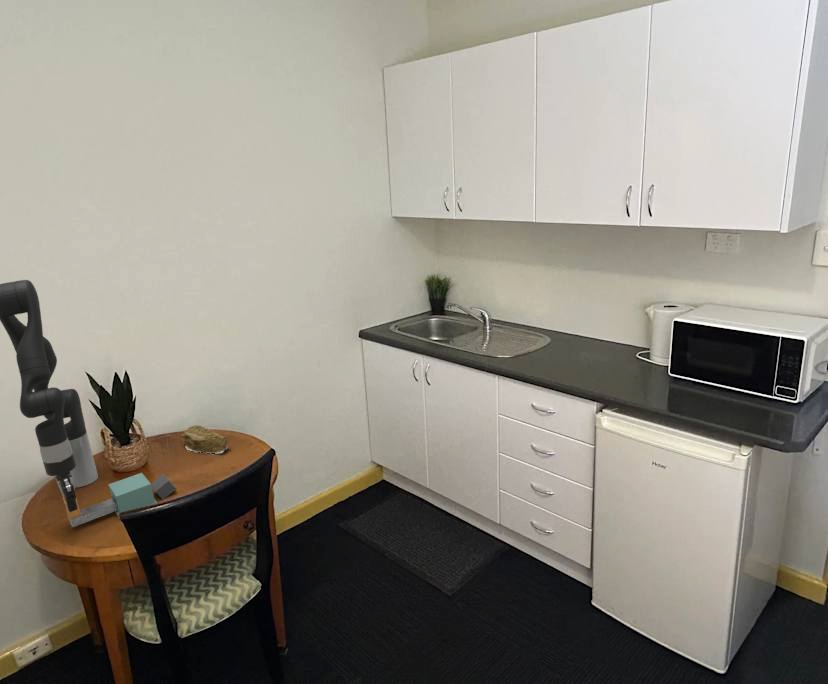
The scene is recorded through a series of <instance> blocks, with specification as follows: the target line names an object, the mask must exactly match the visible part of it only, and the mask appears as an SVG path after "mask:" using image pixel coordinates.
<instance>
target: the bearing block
mask: <svg viewBox="0 0 828 684" xmlns="http://www.w3.org/2000/svg"><path fill="white" fill-rule="evenodd" d="M151 484H152V483H151V482H150V481H149V479H147V477H146V476H145V474H143V472H140V473H137V474H135V475H132V476H128V477H126V478H123V479H121V480H117V481H114V482H111V483H108V489H109V493H110V496H111V498H114V499H115V500H116V503H117V507H118V510H117V511H114V512H115V514H116V516H118V515H119V513H121V512H124V511H128V510H132V509H136V508H139V507H145V506H149V505H152V504H158V501H157V500H156V499H155V496H154V492H153V488H152V487H151Z"/></svg>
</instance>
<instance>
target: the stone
mask: <svg viewBox="0 0 828 684" xmlns="http://www.w3.org/2000/svg"><path fill="white" fill-rule="evenodd" d="M180 439H181V440H182V441H183V443H184V444H185V449H186V450H190V451H193V452H194V453H198V452H200V454H207V453H210V454H211V453H212V452H213V453H215V454H214V455H216V454H217V455H218V454H223V453H224V451H227V449H229V447H228V446H227V444H228V441H229V439H228V437H227V436H226V435H221V434H220V433H217V432H216V431H215V430H211V429H209V428H205V427H204V426H202V425H192V426H189V427H188V428H187V429H186V430H184V431H182V432H181V434H180ZM226 446H227V447H226ZM201 452H203V453H201ZM204 452H206V453H204Z"/></svg>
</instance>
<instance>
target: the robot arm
mask: <svg viewBox="0 0 828 684" xmlns="http://www.w3.org/2000/svg"><path fill="white" fill-rule="evenodd" d="M35 287H36V286H35V285H34V284H33V282H32V281H31V280H29V279H21V280H15V281H10V282H3V283H0V323H1V325H2V326H3V328H4V329H5V331H6V333H7V335H8V338H9V339H10V341H11V343H12V346H13V348H14V351H15V354H16V357H15V358H16V363H17V367H18V372H19V376H20V380H21V383H20V384H21V388H20V390H21V391H20V398H19V409H20V412H21V414H22V415H23V416H24V417H26V418H28V419H33V418H39V417H44V418H45V419H46V420H43V421H42V422H39V423H38V424H37V425H35V427H34V428H35V429H34V431H35V435H36V439H37V442H38V446H39V453H40V457H41V460H42V464H43V466H44V470H45V474H46V476H47V475H48V476H50V477H54V478H55V482H56V484H57V486H58V489H59V491H60V493H61V495H62V494H63V495H64V497H65V500H66V502H67V506H68V509H69V511H70V512H72V511H75V510H77V509H78V508H77V504H76V500H75V499H77V496H76V493H75V490H76V488H82V487H87V486H88V485H90V484H93V483H94V482H95V481H97V480H98V478H99V475H98V470H97V466H96V463H95V460H94V459H95V458H94V455H93V452H92V447H91V443H90V440H89V436H88V432H87V429H86V422H85V418H84V414H83V409H82V404H81V403H82V402H81V399H80V395H79V393H78V391H77V390H76V389H75V388H68V389H60V388H58V387H49V383H50V380H51V378H52V376H53V374H54V372H55V370H56V367H57V362H58V358H57V356H56V355H57V354H56V353H55V351H54V348H53V346H52V343H51V342H50V340H49V339H47V338H46V337H45V336H44V332H43V331H44V330H43V323H42V316H41V315H42V314H41V306H40V300H39V295H38V292H37V289H36V288H35ZM26 313H27V322H26V325H25V324H24V323H22V322H21V321H20V320H19V318H18V317H16V316H17V315H21V314H26ZM66 418H70V420H69V421H68V422H66V423H65V422H64V420H65V419H66ZM62 488H63V489H62Z"/></svg>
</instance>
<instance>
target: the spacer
mask: <svg viewBox="0 0 828 684" xmlns="http://www.w3.org/2000/svg"><path fill="white" fill-rule="evenodd" d="M150 484H151V487H152V490H153V491H154V492H155V493H156V494H157V495H158V496H159V498H161V499H162V500H165V499H166V498H168V496H170V495H171V494H172V493H173V492H174V491H175V490H177V487H176V486H175V485H174V484H173V482H171V480H170V479H169V478H168V477H167V476H166V475H165V474H164V473H162V474H161V475H160V476H158V477H157V478H156V480H154V481H153V482H152V483H150Z"/></svg>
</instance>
